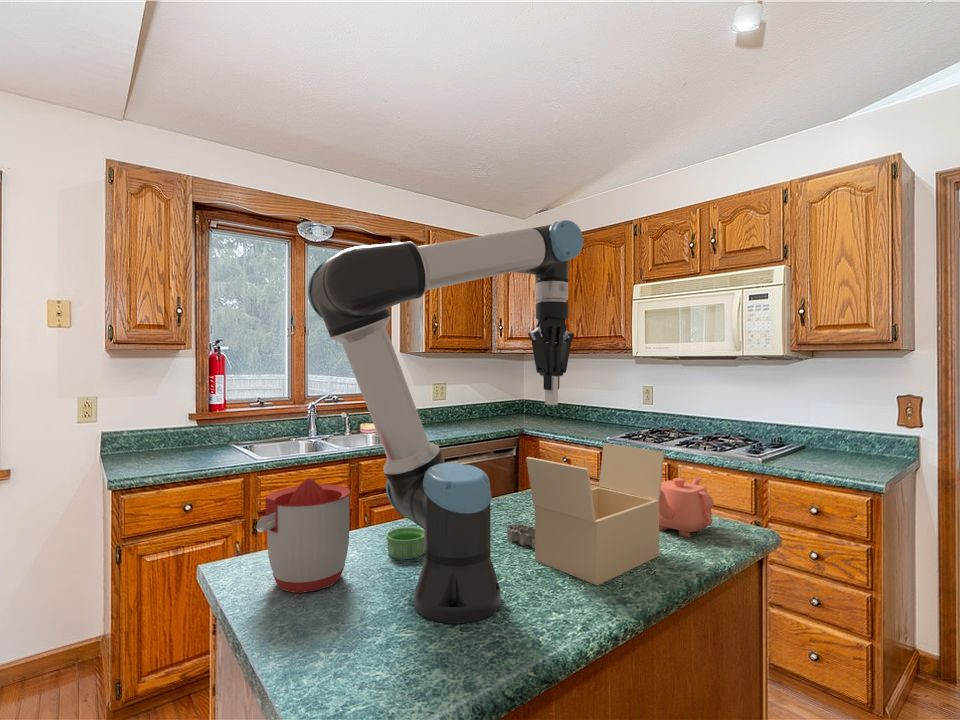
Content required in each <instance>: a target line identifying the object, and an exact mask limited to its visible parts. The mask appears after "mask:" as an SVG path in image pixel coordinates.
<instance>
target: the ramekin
mask: <svg viewBox="0 0 960 720" xmlns="http://www.w3.org/2000/svg"><path fill="white" fill-rule="evenodd" d="M385 538H386V540H387V552H388V555H389V556H390V557H392V558H393V559H396V560H412V559H416V558H419V557H421V556H422V555H424V554H425V547H424V529H423V528H422V527H421V528H420V527H417V526H403V527H398V528H394V529H391V530H389V531H388V532H386V533H385Z"/></svg>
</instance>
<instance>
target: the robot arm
mask: <svg viewBox="0 0 960 720" xmlns="http://www.w3.org/2000/svg"><path fill="white" fill-rule="evenodd" d="M583 247H584V237H583V233H582V230H581V228H580V227H579V225H578V224H577V223H575V222H574V221H572V220H568V219H566V220H560V221H555V222H553V223H551V224H547V225H541V226H536V227H531V228H530V227H529V228H523V229H516V230H510V231H503V232H497V233H492V234H485V235H481V236H480V235H478V236H474V237H473V236H472V237H469V238H467V237H466V238H461V239H455V240H454V239H453V240H447V241H442V242H436V243H430V244H424V245H417V244H415V243H414V242H413V241H411V240H410V241H403V242H401V241H400V242H394V243H381V244H371V245H358V246H353V247H349V248H346V249H344V250H342V251H340V252H338V253H336V254H335V255H334V256H332V257H330V258H328V259H327V260H324V261H322V262H321V263H320V264H319V265H318V266H317V268H316V269H315V270H314V271H313V273H312V274H311V277H310V279H309V281H308V286H307V297H308V300H309V303H310V307H312V310H313V311H314V312H315V313H316V314H317V316H319V317H320V318H321V319H322V320H323V322H324V324H325V326H326V330H327V331H328V334H329V337H330V339H332V340H334V341H335V342H337V343H340V344H341V345H342V347H343V349H344V352H345V354H346V357H347V359H348V362H349V365H350V368H351V369H352V373H353V374H354V377H355V380H356V382H357V385H358V387H359V390H360V393H361V395H362V398H363V400H364V402H365V405H366V408H367V410H368V413H369V415H370V418H371V421H372V424H373V425H374V428H375V431H376V434H377V436H378V438H379V441H380V443H381V446H382V448H383V451H384V454H385V457H386V461H385V463H384V465H383V468H382V470H383V474H384V475H385V476H384V477H385V478H386V484H385V490H386V495H387V499H388V500H389V503H390V504H391V506H392V508H393V509H394V510H395V511H396V512H397V513H398V514H400V515H401V516H402V517H404V518H405V519H408V520H409V521H410V522H413V523H414V524H416V525H417V526H419V528H420V527H421V529H424V547H425V552H424V559H423V563H422V567H421V570H420V574H419V577H418V581H417V585H416V587H415V589H414V607H415V610H416V611H417V613H418V614H420V616H423V617H424V618H426V619H429V620H431V621H435V622H439V623H442V624H443V623H444V624H468V623H472V622H477V621H480V620H483V619H487V618H488V617H491V616H492V615H493V614H495V613H496V612H497V611H498V610H499V609H500V607H501V602H502V600H501V599H502V593H501V587H500V583H499V581H498V577H497V573H496V570H495V568H494V565H493V562H492V558H491V557H492V556H491V501H492V492H491V484H490V479H489V476H488V474H487V473H486V471H484V470H482V469H481V468H479V467H477V466H474V465H472V464H463V463H461V462H459V463H458V462H445V460H444V457H443V454H442V452H441V450H440V447H439V445H437V444H435V443H433V442H430V441H429V439H428V437H427V434H426V431H425V429H424V426H423V424H422V420H421V418H420V414H419V413H418V409H417V407H416V404H415V402H414V399H413V397H412V394H411V392H410V389H409V385H408V382H407V381H406V378H405V375H404V372H403V370H402V367H401V365H400V361H399V359H398V356H397V354H396V351H395V349H394V346H393V344H392V341H391V338H390V335H389V333H388V330H387V328H388V325H389V322H390V320H391V318H392V317H391V314H390V311H389V308H391V307H394V306H396V305H399V304H401V303H404V302H408V301H412V300H416V299H420V298H423V297H424V295H425V294H426V293H427V291H431V290H434V289H439V288H444V287H448V286H453V285H457V284H462V283H466V282H467V283H468V282H471V281H475V280H476V281H477V280H481V279H487V278H490V277H494V276H495V277H497V276H498V275H499V276H500V275H505V274H508V273H519V274H525V275H527V274H529V275H534V276H535V301H536V304H535V319H537V323H536V326H535V329H533V330H530V331H528V334H527V335H528V338H529V339H530V341H531V347H532V352H533V357H534V365H535V371H536V373H537V374H539V375H540V376H542V377H543V390H544V405H548V406H549V405H551V406H552V405H553V406H556V405H557V406H558V405H559V390H560V377H563V376H564V374H565V373H566V372H567V369H568V364H569V362H568V361H569V359H570V352H571V351H570V350H571V345H572V342H573V340H574V337H575V333H573V332H569V331H568V330H567V328H568V326H567V322H566V321H567V319H568V318H569V304H568V302H567V301H569V274H570V273H569V269H570V267H569V266H570V265H569V264H570V262H569V261H570V260H571V259H575V258H576V257H578V256H579V255H580V253H581V251H582V249H583Z"/></svg>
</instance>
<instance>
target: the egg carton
mask: <svg viewBox="0 0 960 720" xmlns="http://www.w3.org/2000/svg"><path fill="white" fill-rule="evenodd" d="M504 527H505V528H506V534H507V535H506V537H507V538H506V539H507V541H508V542H510V543H514V541H515V542H516V541H518V543H519V545H521V546H531V545H532V546H531V549H534V548H535V524H534V525H529V524H525V525H524V523H521V522H519V523H518V524H517V522H515V523H514V524H508V525H504Z"/></svg>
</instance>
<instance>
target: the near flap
mask: <svg viewBox="0 0 960 720" xmlns="http://www.w3.org/2000/svg"><path fill="white" fill-rule="evenodd" d="M525 460H526V467H527V472H528V479H529V485H530V492H531V499H532V505H534V506H535V505H537V506H540V507H544V508H547V509H551V510H554V511H558V512H561V513H564V514H568V515H571V516H575V517H578V518H582V519H585V520H589V521H592V522H595V521H596V518H595V511H594V504H593V497H592V490H591V485H592V484H591V479H590V470H589V468H588V467H587V468H586V467H581V466H576V465H572V464H566V463H562V462H556V461H551V460H546V459H540V458H535V457H530V456H527V457H526V458H525Z"/></svg>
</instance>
